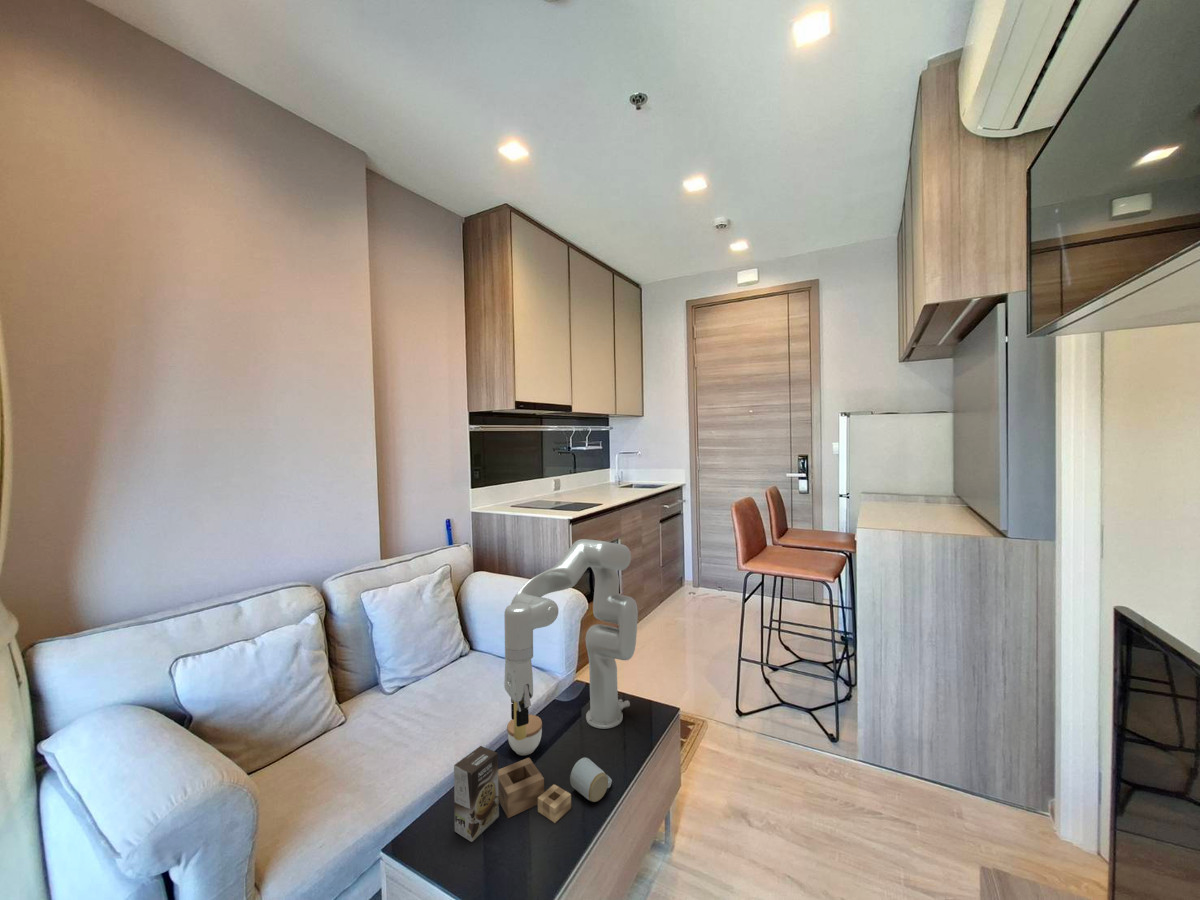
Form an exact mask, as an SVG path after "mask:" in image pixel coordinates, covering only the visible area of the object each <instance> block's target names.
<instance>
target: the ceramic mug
mask: <svg viewBox="0 0 1200 900" xmlns="http://www.w3.org/2000/svg"><path fill="white" fill-rule="evenodd" d="M569 781H570V782H569V783H570V786H571V787H572V788H573V789H575V790H576V792H578V794H580V795H582V796H583V797H584V798H585V799H586V800H588V801H590V802H592V803H596V802H599V801H600V800H601V799H602V798H603V797H604V796H605V794H606V793H607V789H609V788H611V785H612V783H613V780H612V778H611V777H610V776H609V775H608V774H606V773H605V771H604V770H603V769H601V767H599V766H598V765H597V764H595V762H593V761H592V760H591V759H590V758H588V757H581V758H579V759H578V760H577V761H576V762H575V764H574V766H573V767H572V770H571V772H570V775H569Z"/></svg>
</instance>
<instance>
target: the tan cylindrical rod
mask: <svg viewBox="0 0 1200 900" xmlns="http://www.w3.org/2000/svg"><path fill="white" fill-rule="evenodd" d="M522 697H523V696H522ZM522 703H524V701H522V702H521V704H522ZM517 710H518V707H517V703H516V702H514V738H515V739H516V740H523V739H525V738H526V725H522V726H519V727H517V725H516V711H517Z"/></svg>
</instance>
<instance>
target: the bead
mask: <svg viewBox="0 0 1200 900" xmlns="http://www.w3.org/2000/svg"><path fill="white" fill-rule="evenodd" d="M544 792H545V778H544V777H543V775H542V773H541V772H540V770H539V769H538V768H537V766H536V764H534V762H533V761H532V759H531V758H530V757H526V758H524V759H522V760H519V761H517V762H514V763H512V764H509V765H506V766H504V767H502V768H498V796H499V804H500V806H501V808H502V810H503V812H504V814H505V816H506V817H507V819H510V818H512V817H513V816H516V815H518V814H520V813H522V812H523V813H524V811H526V810H529V809H531V808H534V807H535V806H538V797H539V796H540V795H542V794H543V793H544Z"/></svg>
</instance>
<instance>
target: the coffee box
mask: <svg viewBox="0 0 1200 900" xmlns="http://www.w3.org/2000/svg"><path fill="white" fill-rule="evenodd" d="M498 754H499V753H498V752H497V751H496V750H495V751H494V750H492V749H490V748H488V747H485V746H482V745H479V746H478V747H477V748H476V749H474V750H473V751H471V752H470V753H469V754H468V755H466V756H464V757H463V758H462V759H461V760H459V761H458V762H456V763H455V764H454V765H453V771H454V772H453V773H454V774H453V777H454V778H453V782H454V784H453V785H454V788H453V789H454V792H453V793H454V794H453V795H454V802H453V803H454V833H457V834H458V835H459V836H461V837H463V838H464V839H466V840H468V841H469V842H471V843H472V842H474V841H476V839H477V838H478V837H480V835H481V834H482V833H483V832H484V831H486V829H488V828H489V827H490V825H492V824H493V823H494V822H495V821H496V820H497V819H498V818H499V816H500V808H499V807H500V805H499V804H500V802H499V796H498V770H499V761H498V758H499V755H498Z"/></svg>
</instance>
